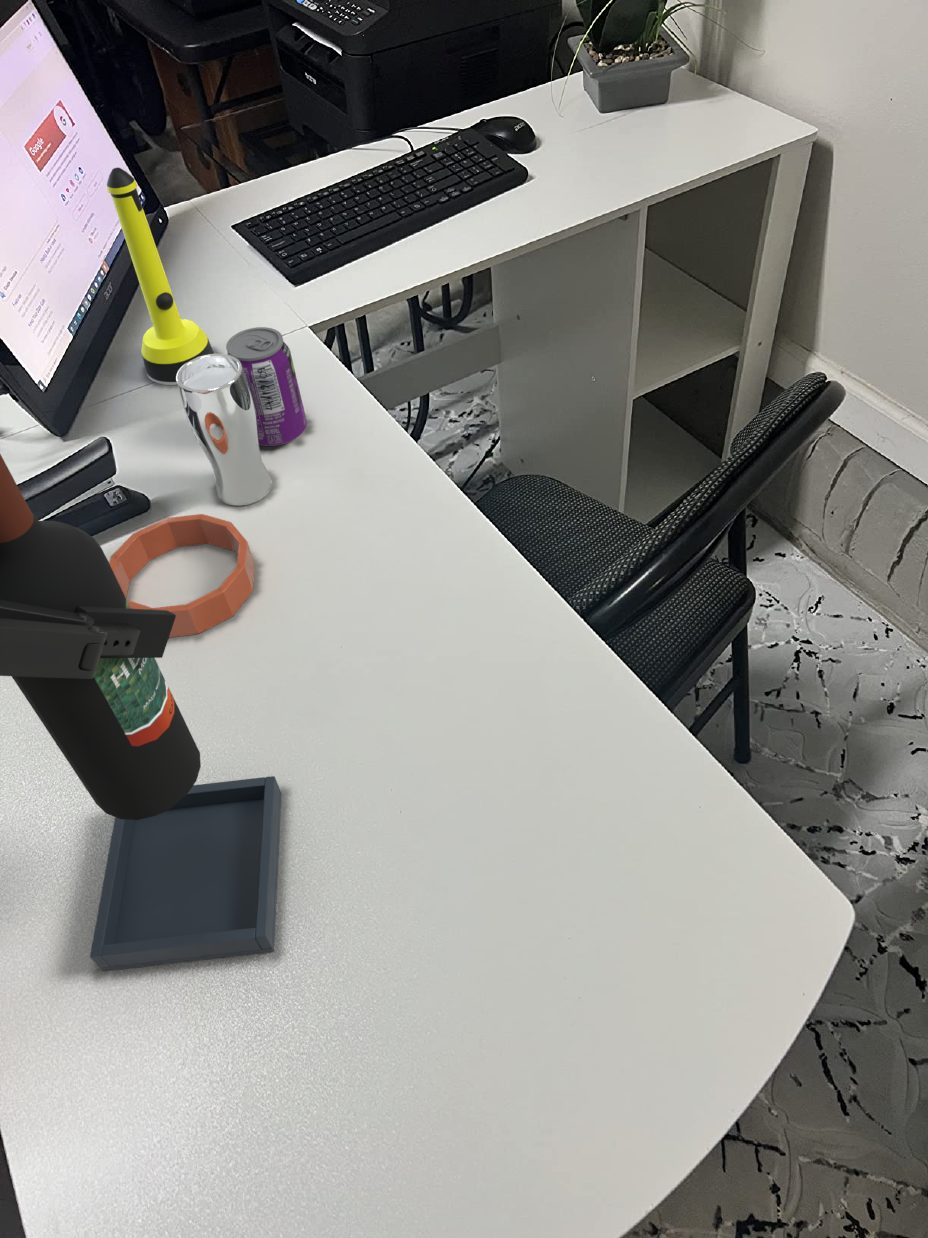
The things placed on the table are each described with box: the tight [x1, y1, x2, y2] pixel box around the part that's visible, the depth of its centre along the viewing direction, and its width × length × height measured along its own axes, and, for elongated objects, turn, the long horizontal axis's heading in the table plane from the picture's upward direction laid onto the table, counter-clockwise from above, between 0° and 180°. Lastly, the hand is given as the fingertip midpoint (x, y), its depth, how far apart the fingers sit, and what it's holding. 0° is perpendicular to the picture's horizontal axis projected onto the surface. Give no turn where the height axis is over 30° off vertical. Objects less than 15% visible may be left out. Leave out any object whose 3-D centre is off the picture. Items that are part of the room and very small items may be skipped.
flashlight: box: [106, 167, 215, 386], centre depth 115 cm, size 25×9×9 cm
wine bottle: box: [0, 453, 202, 820], centre depth 56 cm, size 8×8×30 cm
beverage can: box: [225, 326, 308, 447], centre depth 109 cm, size 7×7×12 cm
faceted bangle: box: [108, 513, 256, 638], centre depth 96 cm, size 14×14×4 cm
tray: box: [89, 775, 282, 972], centre depth 74 cm, size 13×14×3 cm
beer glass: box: [176, 353, 273, 507], centre depth 101 cm, size 7×7×15 cm
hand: (117, 607), depth 58 cm, fingers closed on wine bottle, 7 cm apart
